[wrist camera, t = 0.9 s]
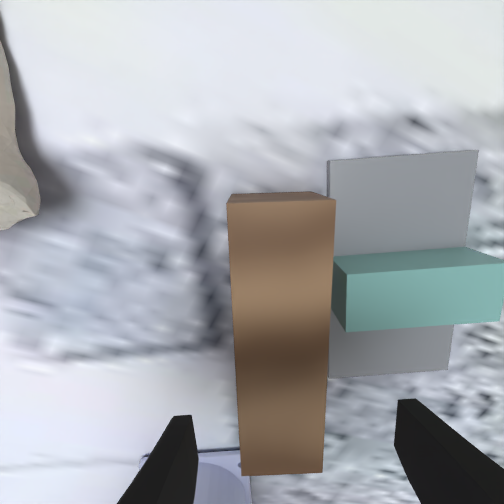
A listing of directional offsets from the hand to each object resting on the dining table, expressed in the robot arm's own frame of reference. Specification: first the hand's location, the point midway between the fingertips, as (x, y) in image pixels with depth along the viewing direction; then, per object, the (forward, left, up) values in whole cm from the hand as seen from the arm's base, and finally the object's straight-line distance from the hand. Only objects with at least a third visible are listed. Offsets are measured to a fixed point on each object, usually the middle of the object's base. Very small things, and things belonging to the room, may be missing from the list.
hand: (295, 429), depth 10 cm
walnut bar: (0, 0, -9) cm, 9 cm away
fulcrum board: (+2, -7, -9) cm, 12 cm away
